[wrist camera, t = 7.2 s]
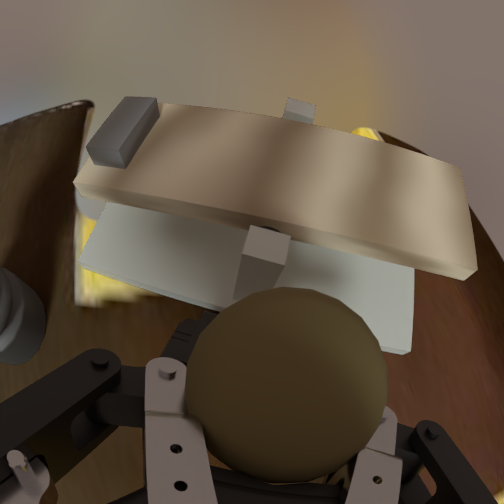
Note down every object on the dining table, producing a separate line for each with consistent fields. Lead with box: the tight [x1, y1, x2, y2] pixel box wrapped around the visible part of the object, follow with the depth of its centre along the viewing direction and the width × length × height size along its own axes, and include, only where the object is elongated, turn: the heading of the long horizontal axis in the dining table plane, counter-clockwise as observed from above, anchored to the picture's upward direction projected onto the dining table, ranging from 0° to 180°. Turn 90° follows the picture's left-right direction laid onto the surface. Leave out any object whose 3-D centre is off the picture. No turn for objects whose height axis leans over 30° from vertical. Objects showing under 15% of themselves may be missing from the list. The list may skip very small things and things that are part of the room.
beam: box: [73, 97, 477, 280], centre depth 18 cm, size 24×8×4 cm, turn 76°
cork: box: [184, 287, 388, 483], centre depth 11 cm, size 6×6×11 cm
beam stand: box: [78, 98, 414, 355], centre depth 21 cm, size 24×14×8 cm, turn 76°
